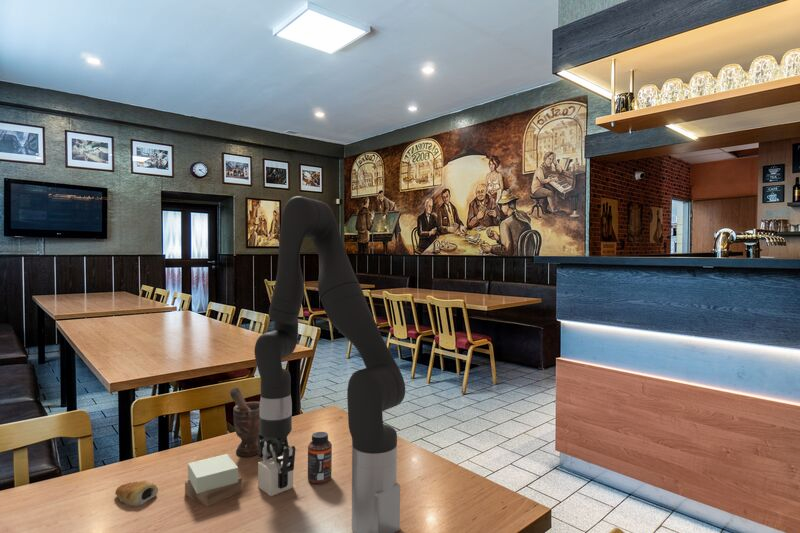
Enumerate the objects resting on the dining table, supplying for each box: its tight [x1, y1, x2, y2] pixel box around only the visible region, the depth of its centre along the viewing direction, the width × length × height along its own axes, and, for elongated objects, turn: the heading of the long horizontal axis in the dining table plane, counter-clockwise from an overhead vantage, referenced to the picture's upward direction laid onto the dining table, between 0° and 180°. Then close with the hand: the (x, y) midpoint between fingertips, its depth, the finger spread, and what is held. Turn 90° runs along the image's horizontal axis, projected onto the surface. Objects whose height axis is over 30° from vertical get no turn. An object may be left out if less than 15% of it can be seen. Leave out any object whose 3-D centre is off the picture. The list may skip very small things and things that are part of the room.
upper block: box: [187, 453, 239, 493], centre depth 110 cm, size 9×9×4 cm
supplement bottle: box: [307, 431, 333, 485], centre depth 117 cm, size 6×6×11 cm
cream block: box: [257, 456, 294, 497], centre depth 113 cm, size 6×6×6 cm
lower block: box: [184, 475, 243, 508], centre depth 110 cm, size 9×9×4 cm
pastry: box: [114, 480, 159, 507], centre depth 108 cm, size 9×7×4 cm
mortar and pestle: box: [229, 387, 264, 458], centre depth 131 cm, size 12×9×20 cm
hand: (275, 482), depth 113 cm, fingers closed on cream block, 6 cm apart
